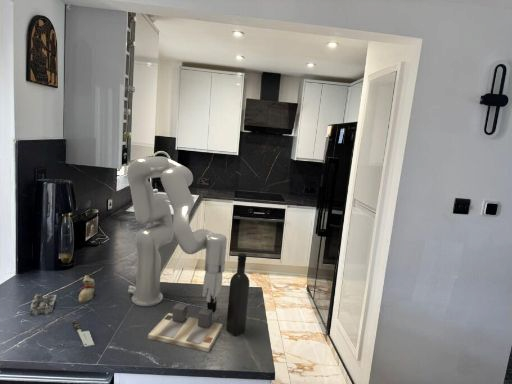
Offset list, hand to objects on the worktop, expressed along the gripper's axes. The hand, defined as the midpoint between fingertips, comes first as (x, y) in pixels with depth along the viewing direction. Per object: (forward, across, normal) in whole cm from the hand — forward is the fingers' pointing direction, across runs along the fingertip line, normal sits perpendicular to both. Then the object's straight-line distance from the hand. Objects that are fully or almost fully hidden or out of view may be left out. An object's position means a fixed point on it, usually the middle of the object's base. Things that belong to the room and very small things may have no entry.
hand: (211, 310), depth 130 cm
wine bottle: (+4, +4, +11) cm, 13 cm away
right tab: (+2, +7, 0) cm, 7 cm away
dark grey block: (+2, +7, -10) cm, 12 cm away
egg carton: (+4, +15, -62) cm, 64 cm away
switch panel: (+4, +12, -5) cm, 13 cm away
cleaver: (+4, +23, -38) cm, 44 cm away
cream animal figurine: (+4, +3, -53) cm, 53 cm away
